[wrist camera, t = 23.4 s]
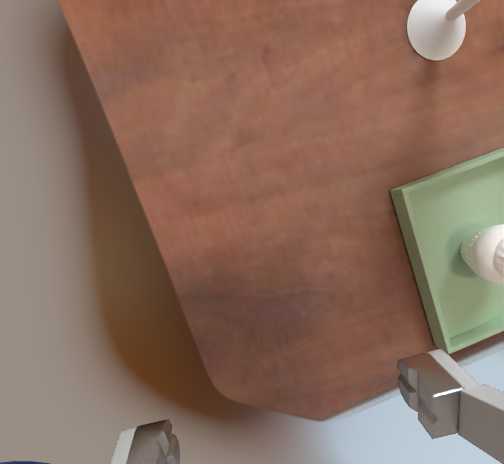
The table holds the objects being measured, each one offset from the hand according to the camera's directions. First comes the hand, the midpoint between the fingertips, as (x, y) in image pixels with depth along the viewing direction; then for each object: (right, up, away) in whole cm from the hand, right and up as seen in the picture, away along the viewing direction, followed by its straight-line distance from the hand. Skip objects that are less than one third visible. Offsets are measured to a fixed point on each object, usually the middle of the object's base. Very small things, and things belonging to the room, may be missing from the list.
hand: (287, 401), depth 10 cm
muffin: (+24, +4, +23) cm, 33 cm away
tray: (+24, +4, +23) cm, 33 cm away
